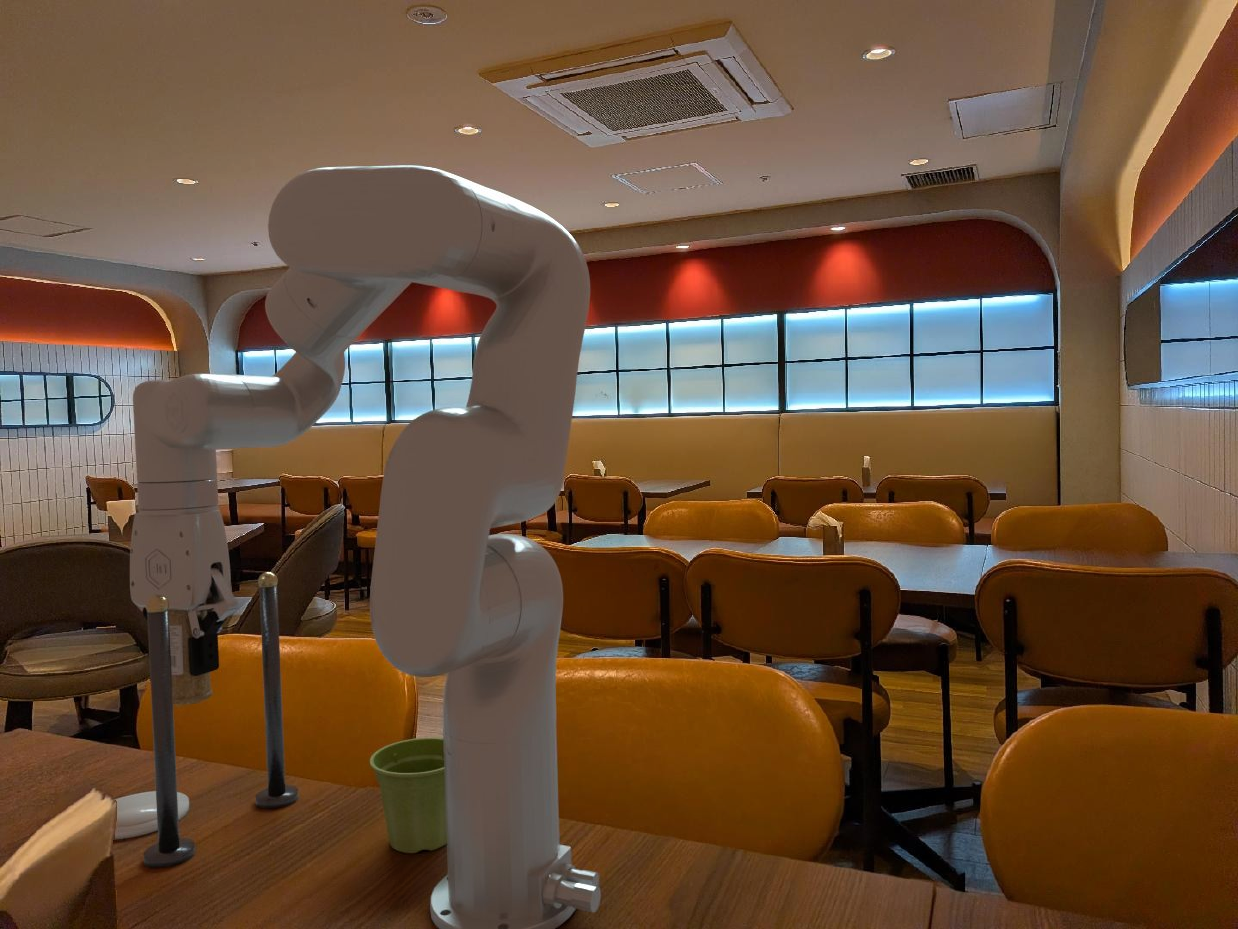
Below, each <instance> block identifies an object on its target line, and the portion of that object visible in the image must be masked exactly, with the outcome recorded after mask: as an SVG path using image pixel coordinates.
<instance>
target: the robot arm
mask: <svg viewBox="0 0 1238 929" xmlns="http://www.w3.org/2000/svg"><path fill="white" fill-rule="evenodd" d="M267 229H268V238H269V242H270V244H271V248H272V249H273V251H274V253H275V255H276V256H277V257H278V258H279V260H281V261H282V262H283V264H284V265H287V266H288V267H289V268H288V269H287V270H286V271H285V272H284V273H283V274H282V276H280V278H279V279H278V280H277V281H276V282H275V284H274V285H272V286H271V288H270V289H269V291H268V292H267V295H266V296H265V301H264V308H265V313H266V317H267V319H268V321H269V323H270V325H271V327H272V328H273V330H274V331H275V333H276V334H277V335H278V336H279V337H280V339H281V340H282V341H283V342H284V343H285V344H286V345H287V346H288V347H290V348H291V349H292V350H293V352H294V354H293V355H292V356H291V357H290V358H289V359H288V361H287V362H286V363H284V364H283V366H282V367H281V368H280V369H279V370H278V371H277V372H275V373H274V374H273V375H271V376H264V375H250V374H249V375H247V374H246V375H245V374H226V373H224V374H221V373H192V374H187V375H185V374H184V375H183V376H178V377H177V378H174V379H155V380H146V381H143V382H140V383H139V384H138V385H136V386H135V388H134V391H133V392H132V407H133V428H134V447H135V448H134V449H135V464H136V480H137V483H136V485H137V486H136V487H137V503H138V505H137V506H138V509H137V510H138V511H137V512H135V513H134V517H133V518H134V519H133V524H132V529H131V530H132V531H131V535H130V536H131V537H130V547H129V548H130V549H129V550H130V551H129V591H130V599H131V601H132V603H133V604H134V605H135V606H136V607H137V608H138V609H139V611H141V612H142V614H143V617H144V618H145V620H146V621H147V622H148V616H147V612H148V611H147V610H146V603H147V601H148V599H149V598H150V597H152V596H154V595H163V596H165V597H166V598H167V599H168V601H169V610H184V611H188V616H189V621H190V625H191V630H192V634H193V636H194V637H191V638H188V651H189V671H190V675H191V676H199V675H202V674H205V673H208V672H210V673H211V672H214V671H218V669H219V668H220V656H219V655H220V654H219V636H218V634H220V633H221V631H223V624H224V623H225V622H226V620H227V618H228V617H229V616H231V614H232V613H234V612H235V611H236V610H237V608H238V606H239V605H238V601H237V600H236V597H235V596H234V594H233V592H232V590H231V587H232V586H231V585H232V582H231V581H232V580H231V579H232V578H231V564H230V562H231V561H230V555H229V546H228V541H227V533H226V529H225V524H224V519H223V516H222V512H221V510H220V506H219V491H218V490H219V489H218V486H219V485H218V470H217V469H218V467H217V466H218V464H217V450H233V449H251V448H252V449H254V448H255V449H257V448H276V447H281V446H284V445H285V446H286V445H287V444H290V443H291V442H294V441H295V440H297V439H299V438H300V437H301V436H302V435H305V433H306V432H307V431H309V430H310V429H311V428H312V427H313V425H315V423H317V422H318V421H319V420H320V419H322V417H323V416H324V415H325V414H326V413H327V412H328V411H329V409H331V408H332V406H333V405H334V403H335V402H336V400H337V398H338V396H339V394H340V391H341V389H342V385H343V381H344V376H345V373H346V372H345V370H346V357H345V352H346V351H347V350H348V348H349V347H350V346H352V344H353V343H354V342H356V340H357V339H358V338H359V337H360V336H361V335H362V334H363V333H364V332H365V331H366V330H367V329H368V328H369V326H370V325H372V324H373V323H374V322H375V321H376V320H377V319H378V317H380V316H381V314H382V313H383V312H384V311H385V310H386V309H387V308H388V307H389V306H391V304H392V303H394V301H395V300H396V299H397V298H398V297H399V296H400V295H401V294H402V293H403V292H404V290H406V289H407V288H408V287H409V286H410V285H411V284H412V283H413V284H414V283H415V284H421V285H425V286H428V287H429V286H432V287H436V288H440V289H446V290H451V291H456V292H460V293H465V294H472V295H477V296H481V297H484V298H488V299H490V300H492V301H493V302H494V303H495V306H496V308H495V310H494V312H493V313H492V315H491V316H490V318H489V319H488V321H487V323H486V324H485V326H484V328H483V330H482V332H481V335H480V337H479V340H478V341H477V345H476V349H475V352H474V357H473V363H472V377H471V383H470V389H469V394H468V400H467V402H466V406H463V407H462V406H450V407H441V408H437V409H432V410H429V411H427V412H425V413H422V414H420V415H418V416H417V417H415V418H414V419H413V420H411V421H410V422H409V423H408V424H407V425H406V426H405V428H403V429H402V431H401V432H400V434H399V435H398V437H397V438H396V440H395V442H394V444H393V446H392V448H391V450H390V452H389V453H388V457H387V459H386V460H387V461H386V463H385V467H384V471H383V476H382V477H383V478H382V484H381V491H380V498H379V499H380V500H379V507H378V508H379V510H378V519H377V528H376V534H375V535H376V536H375V546H374V552H373V553H374V554H373V563H372V570H371V580H370V589H369V590H370V592H369V593H370V594H369V614H370V615H369V618H370V624H371V629H372V634H373V636H374V639H375V643H376V645H377V647H378V648H379V651H380V652H381V654H382V655H383V657H384V659H385V660H387V662H388V663H389V664H390V665H391V666H393V667H394V668H395V669H397V670H398V671H399V672H401V673H404V674H406V675H409V676H413V677H419V678H431V677H432V678H433V677H438V676H444V675H446V677H445V682H444V688H443V690H444V691H443V700H442V726H443V727H442V736H443V737H442V738H443V745H444V774H445V803H446V833H447V843H446V853H447V854H446V856H447V857H446V860H447V874H446V875H445V876H444V877H443V878H442V879H441V880H440V881H438V882H437V884H436V885H435V887H433V890H432V892H431V895H430V898H429V899H430V900H429V905H430V906H429V911H430V916H431V917H430V918H431V920H432V922H433V923H434V926H436V927H437V928H438V929H556V928H559V927H560V926H561V925H562V924H564V922H566V921H567V920H568V919H570V917H571V916H572V915H573V913H574V912H575V911H576V909H577V910H580V911H585V912H589V913H596V912H597V911H598V908H599V907H600V902H601V895H602V894H601V888H600V887H599V883H600V874H599V873H598V872H597V871H592V870H588V869H587V870H586V869H578V868H576V867H575V865H573V864H572V848H571V846H569V845H563V844H560V820H559V819H560V817H559V815H560V814H559V813H560V812H559V786H558V785H559V784H558V783H559V778H558V777H559V776H558V747H557V746H558V745H557V742H558V741H557V740H558V738H557V696H556V695H557V692H556V691H557V684H556V681H557V658H558V657H557V656H558V648H559V639H560V633H561V625H562V619H563V618H562V617H563V612H564V611H563V609H564V587H563V581H562V577H561V573H560V571H559V568H558V565H557V563H556V562H555V560H554V559H553V556H552V555H551V554H550V553H549V551H547V549H545V547H543V546H542V545H540V543H538V542H536V541H535V540H533V539H531V538H528V537H526V536H524V535H523V536H522V535H519V534H510V533H499V534H498V533H496V534H490V532H491V531H490V530H491V529H494V528H498V527H505V526H508V525H509V526H510V525H513V524H514V525H515V524H519V523H523V522H527V521H529V520H532V519H535V518H537V517H540V516H542V515H544V513H546V512H547V511H549V510H550V509H551V508H553V506H554V505H555V503H556V501H557V500H558V497H559V496H560V494H561V490H562V487H563V483H564V479H565V478H564V477H565V471H566V465H567V464H566V463H567V456H568V451H569V450H568V449H569V441H570V437H571V436H570V435H571V428H572V420H573V412H574V407H575V406H574V405H575V398H576V391H577V378H578V370H579V363H580V357H581V356H580V355H581V351H582V348H583V347H582V346H583V342H584V341H583V340H584V335H585V331H586V326H587V321H588V314H589V308H590V302H591V301H590V298H591V280H590V278H591V277H590V271H589V266H588V264H587V260H586V258H585V255H584V253H583V252H582V249H581V247H580V245H579V243H578V242H577V241H576V239H575V238H574V237H573V235H572V234H570V232H569V231H568V230H567V229H566V228H565V227H564V226H563V225H561V224H560V223H559V222H557V221H556V220H555V219H554V218H553V217H551V216H549V215H548V214H546V213H545V212H543V211H542V210H540V209H537V208H535V207H534V206H532V205H530V204H527V203H526V202H523V201H522V200H519V199H516V198H514V197H512V196H510V195H508V194H505V193H503V192H500V191H497V190H496V189H492V188H489V187H485V186H484V185H481V184H479V183H476V182H473V181H471V180H468V179H466V178H463V177H461V176H458V175H457V174H453V173H450V172H447V171H445V170H442V169H440V168H439V169H438V168H434V167H429V166H422V165H410V164H409V165H408V164H407V165H377V166H376V165H375V166H332V167H329V166H328V167H318V168H314V169H309V170H306V171H304V172H302V173H300V174H298V175H296V176H295V177H293V178H292V179H291V180H289V181H288V182H287V183H286V184H285V185H284V186H282V188H281V189H280V191H279V192H278V193H277V195H276V197H275V198H274V200H273V202H272V205H271V207H270V211H269V214H268V222H267ZM205 602H206V604H204V605H200V606H199V604H203V603H205ZM204 610H206V612H207V615H206V616H205V617H204V619H203V620H202V617H201V612H200V611H204Z"/></svg>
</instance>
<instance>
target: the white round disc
mask: <svg viewBox="0 0 1238 929" xmlns="http://www.w3.org/2000/svg"><path fill="white" fill-rule="evenodd" d="M114 800H116V801H117V822H116V830H115V839H114V840H123V839H124V838H125V839H131V838H136V837H140V836H144V835H147V834H151V833H154V832H158V825H157V804H156V790H153V791H145V792H139V793H134V794H130V795H126V796H122V797H118V798H115V799H114ZM177 800H178V821H180V820H182V819H183V818H184V817H185V816H186V815H187V814H188V813H189V811H190V798H189V797H188V796H187V795H186V794H184V793H182V792H179V791H177Z"/></svg>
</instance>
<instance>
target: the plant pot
mask: <svg viewBox="0 0 1238 929" xmlns="http://www.w3.org/2000/svg"><path fill="white" fill-rule="evenodd" d="M369 765H370V766H369V767H371V769H372V770H373V771H374V773H375V779H376V782H378V784H379V788H380V789H379V790H380V794H381V800H382V806H383V811H384V818H385V823H386V831H387V836H388V840H389V844H390V846H391V848H392V849H394V850H396V851H398V852H401V853H405V854H416V853H418V852H420V851H423V850H424V851H425V850H426V851H427V850H428V851H434V850H437V849H440V848H441V847H443V846H445V845H447V833H446V803H445V774H444V745H443V737H418V738H417V737H416V738H411V739H405V740H401V741H397V742H394V743H391V744H387V745H385V746H384V747H381V748H379V749H378V750H376V751H375V752H374V753H373V754H372V755H371V757H370V758H369Z"/></svg>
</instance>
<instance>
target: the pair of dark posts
mask: <svg viewBox="0 0 1238 929" xmlns="http://www.w3.org/2000/svg"><path fill="white" fill-rule="evenodd" d="M257 582H258V586H259V588H258V589H259V606H260V607H259V608H260V609H259V610H260V631H261V632H260V634H261V635H260V637H261V652H262V653H261V656H262V658H261V659H262V677H263V678H262V680H263V699H264V700H263V701H264V702H263V703H264V705H263V707H264V725H265V726H264V727H265V752H266V775H267V776H266V777H267V788H264V789H262V790H260V791H259V792H257V793H256V794H255V805H256V807H257V808H259V809H263V810H265V809H267V810H271V809H280V808H283V807H286V806H289V805H292V804H293V803H295V802H296V801H297V800H298V799H299V789H298V787H296V786H295V785H290V784H286V770H285V767H286V766H285V747H284V743H285V742H284V723H283V722H284V721H283V719H284V718H283V697H282V678H281V677H282V676H281V670H282V669H281V650H280V626H279V625H280V622H279V605H278V604H279V600H278V582H279V580H278V576H277V574H275V573H274V572H271V571H265V572H263V573H262V574H260V575H259V577H258V581H257ZM168 609H169V601H168V599H167V598H166V597H165V596H163V595H154V596H152V597H150V598H149V599H148V601H147V603H146V610H147V611H148V612H147V616H148V621H147V635H148V637H147V638H148V654H149V655H148V656H149V657H148V658H149V673H150V674H149V675H150V677H149V678H150V693H151V694H150V695H151V696H150V697H151V700H150V701H151V717H152V719H151V720H152V737H153V758H154V761H153V762H154V777H155V778H154V779H155V791H156V804H157V825H158V830H157V841H158V842H156V843H154V844H152V845H150V846H149V847H148V848H146V849H145V850H144V852H143V854H142V855H143V865H144V866H145V867H147V868H150V869H163V868H169V867H174V866H177V865H180V864H182V863H185V862H187V861H188V860H189V859H191V858H192V857H193V856H194V855H195V854H196V852H195V851H196V848H195V846H196V844H195V843H196V842H195V841H194V840H193V839H192V838H188V837H180V827H179V825H180V824H179V820H178V800H177V792H178V782H177V781H178V779H177V762H176V760H177V759H176V744H175V743H176V740H175V738H176V737H175V718H174V705H173V694H172V673H171V651H170V630H169V610H168Z"/></svg>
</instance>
